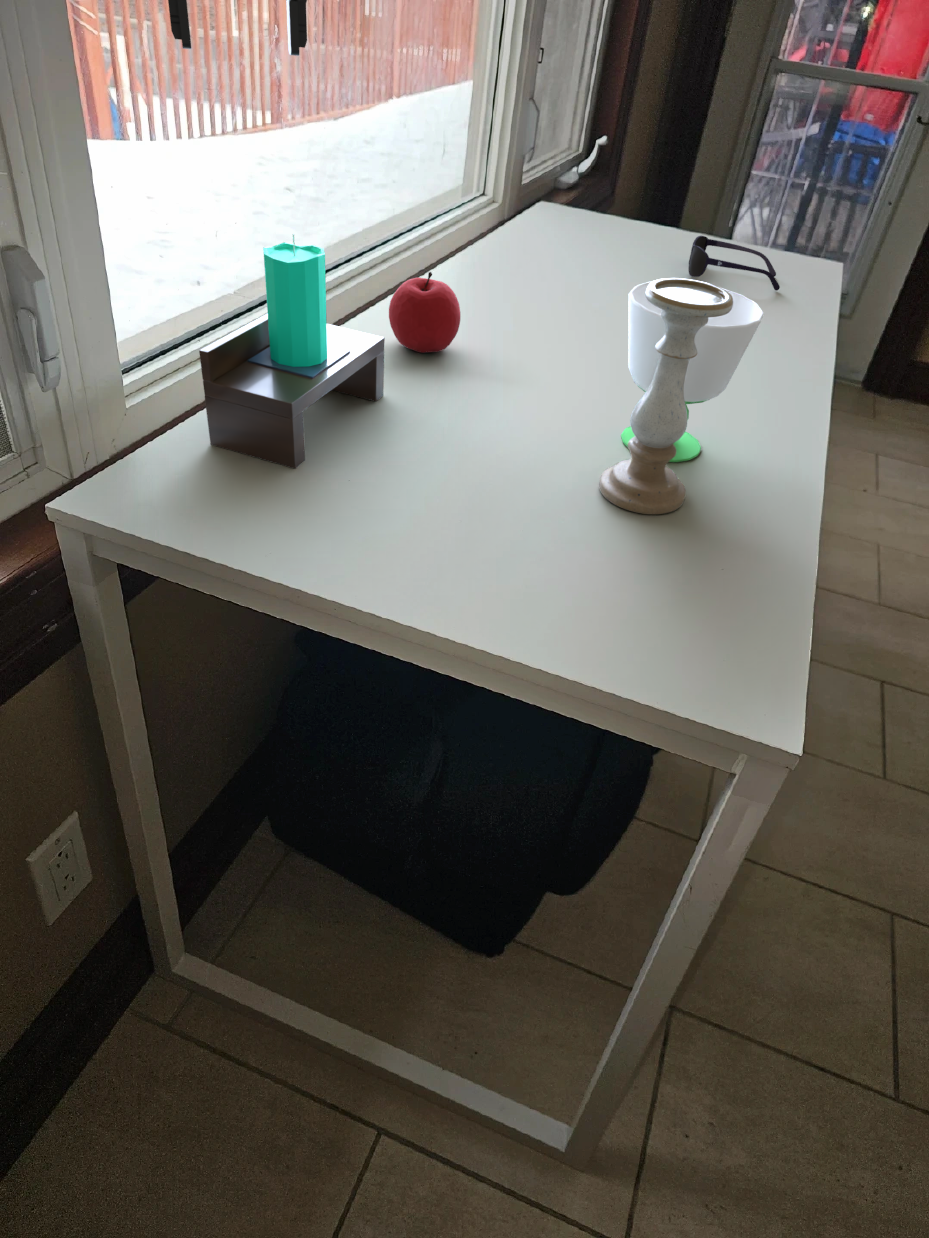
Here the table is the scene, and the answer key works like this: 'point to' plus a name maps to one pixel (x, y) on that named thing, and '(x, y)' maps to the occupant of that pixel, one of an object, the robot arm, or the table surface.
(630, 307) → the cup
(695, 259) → the sunglasses
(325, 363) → the shelf
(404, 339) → the apple
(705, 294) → the candle holder
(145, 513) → the table surface
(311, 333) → the candle
